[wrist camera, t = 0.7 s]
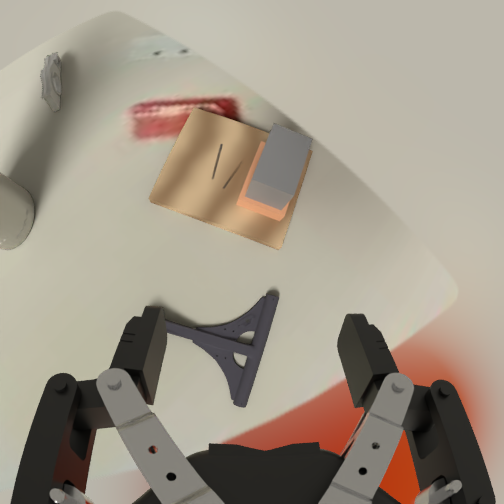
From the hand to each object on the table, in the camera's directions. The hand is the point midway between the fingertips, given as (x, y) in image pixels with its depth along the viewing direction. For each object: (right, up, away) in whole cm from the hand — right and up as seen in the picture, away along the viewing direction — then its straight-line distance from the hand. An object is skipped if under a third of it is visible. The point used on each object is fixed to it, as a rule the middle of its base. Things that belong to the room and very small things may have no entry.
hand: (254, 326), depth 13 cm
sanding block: (+2, +12, +25) cm, 28 cm away
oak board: (-3, +13, +26) cm, 29 cm away
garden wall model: (-32, +30, +25) cm, 50 cm away
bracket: (-6, -7, +24) cm, 25 cm away
